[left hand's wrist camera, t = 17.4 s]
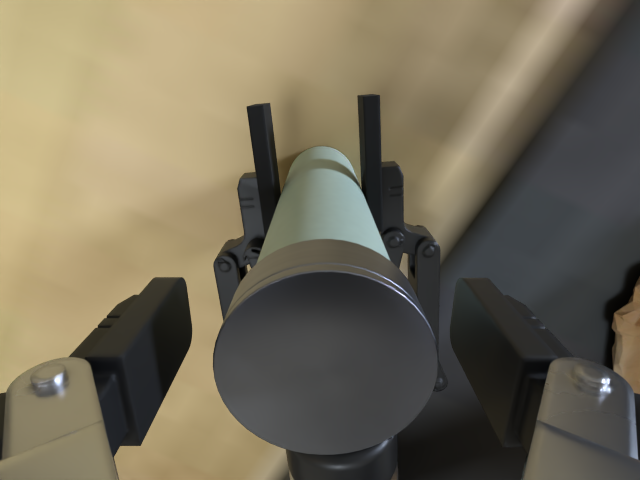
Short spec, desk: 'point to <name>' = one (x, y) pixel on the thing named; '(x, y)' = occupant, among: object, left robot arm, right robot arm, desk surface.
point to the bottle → (322, 204)
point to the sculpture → (628, 340)
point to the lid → (325, 349)
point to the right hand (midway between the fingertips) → (313, 101)
